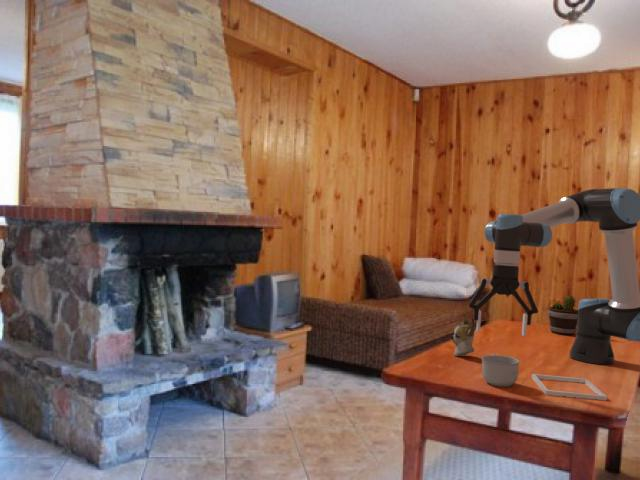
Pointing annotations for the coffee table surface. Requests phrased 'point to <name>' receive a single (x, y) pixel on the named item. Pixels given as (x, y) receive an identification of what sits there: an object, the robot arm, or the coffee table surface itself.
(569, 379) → the grey square frame
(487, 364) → the teacup
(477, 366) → the coffee table surface
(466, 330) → the ceramic sculpture
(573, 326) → the flowerpot
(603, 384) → the coffee table surface
